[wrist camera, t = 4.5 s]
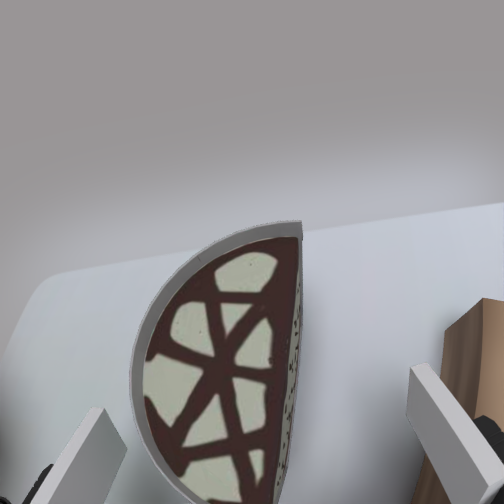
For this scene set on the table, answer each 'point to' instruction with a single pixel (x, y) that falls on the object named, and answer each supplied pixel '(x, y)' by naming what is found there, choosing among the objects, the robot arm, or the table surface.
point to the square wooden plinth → (470, 379)
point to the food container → (223, 367)
